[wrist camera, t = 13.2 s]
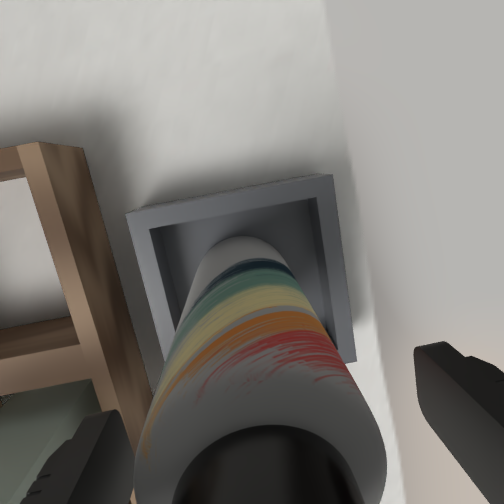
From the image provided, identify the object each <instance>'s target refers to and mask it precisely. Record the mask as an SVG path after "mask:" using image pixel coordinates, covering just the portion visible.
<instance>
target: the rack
mask: <svg viewBox="0 0 504 504" xmlns="http://www.w3.org/2000/svg"><path fill="white" fill-rule="evenodd" d="M23 177H26V178H27V181H28V184H29V187H30V190H31V193H32V196H33V199H34V203H35V206H36V209H37V212H38V215H39V218H40V221H41V224H42V227H43V230H44V234H45V237H46V240H47V243H48V246H49V249H50V252H51V255H52V258H53V261H54V265H55V268H56V271H57V274H58V277H59V280H60V283H61V286H62V289H63V292H64V296H65V299H66V302H67V305H68V308H69V311H70V314H71V316H68V317H63V318H58V319H53V320H47V321H42V322H37V323H32V324H27V325H22V326H16V327H11V328H6V329H1V330H0V396H3V395H8V394H13V393H18V392H23V391H28V390H33V389H39V388H44V387H49V386H54V385H59V384H64V383H69V382H75V381H80V380H85V379H90V378H91V379H92V382H93V385H94V389H95V392H96V395H97V398H98V401H99V404H100V407H101V410H102V412H104V411H109V410H114V409H116V410H118V411H119V412H120V414H121V417H122V420H123V423H124V426H125V429H126V432H127V435H128V438H129V441H130V444H131V447H132V450H133V453H134V456H136V452H137V447H138V444H139V440H140V437H141V433H142V430H143V427H144V424H145V421H146V418H147V415H148V412H149V409H150V406H151V403H152V400H153V396H152V392H151V389H150V385H149V382H148V378H147V375H146V371H145V368H144V364H143V361H142V357H141V353H140V350H139V346H138V343H137V339H136V336H135V332H134V329H133V325H132V322H131V318H130V314H129V311H128V307H127V304H126V300H125V297H124V293H123V290H122V286H121V283H120V279H119V275H118V272H117V268H116V265H115V261H114V258H113V254H112V251H111V247H110V244H109V240H108V236H107V233H106V229H105V226H104V222H103V219H102V215H101V212H100V208H99V205H98V201H97V197H96V194H95V190H94V187H93V183H92V180H91V176H90V173H89V169H88V166H87V162H86V158H85V155H84V151H83V148H79V147H72V146H65V145H58V144H51V143H44V142H34V143H28V144H23V145H18V146H12V147H7V148H2V149H0V182H1V181H7V180H12V179H17V178H23ZM2 406H3V405H2V402H1V400H0V408H1V407H2ZM129 504H137V502H136V498H135V492H134V488H133V491H132V495H131V498H130V501H129Z"/></svg>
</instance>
